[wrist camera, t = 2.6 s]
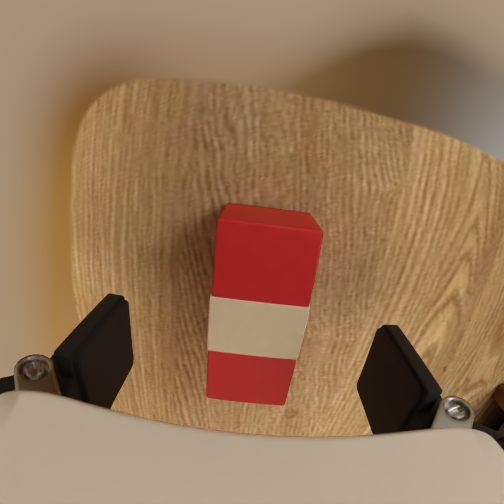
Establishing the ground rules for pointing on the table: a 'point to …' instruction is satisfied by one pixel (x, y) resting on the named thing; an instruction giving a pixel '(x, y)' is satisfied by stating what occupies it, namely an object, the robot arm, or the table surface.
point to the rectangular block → (259, 301)
